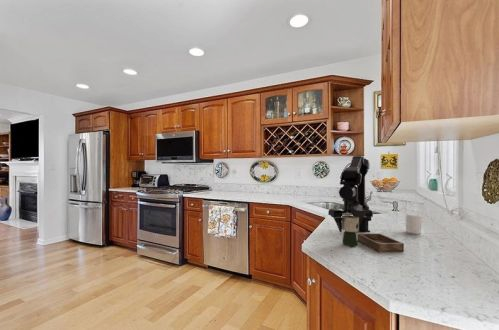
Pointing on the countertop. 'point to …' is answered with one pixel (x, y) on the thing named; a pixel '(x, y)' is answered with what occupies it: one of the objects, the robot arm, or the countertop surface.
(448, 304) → the countertop surface
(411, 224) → the white cup
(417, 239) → the countertop surface
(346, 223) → the character mug
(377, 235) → the box
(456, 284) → the countertop surface
